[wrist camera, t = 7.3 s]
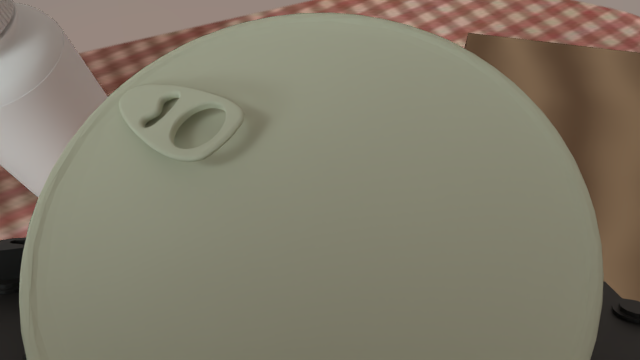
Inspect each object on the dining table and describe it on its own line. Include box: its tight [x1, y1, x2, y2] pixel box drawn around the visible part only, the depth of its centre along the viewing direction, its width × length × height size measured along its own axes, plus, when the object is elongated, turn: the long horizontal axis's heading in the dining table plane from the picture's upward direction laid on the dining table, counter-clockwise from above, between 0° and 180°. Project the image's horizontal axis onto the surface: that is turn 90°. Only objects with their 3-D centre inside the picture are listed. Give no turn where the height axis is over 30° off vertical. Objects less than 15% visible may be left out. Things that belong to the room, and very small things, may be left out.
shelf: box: [464, 33, 640, 302], centre depth 31 cm, size 14×20×5 cm
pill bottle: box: [0, 0, 108, 197], centre depth 30 cm, size 8×8×15 cm
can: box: [19, 13, 604, 360], centre depth 13 cm, size 9×9×12 cm
